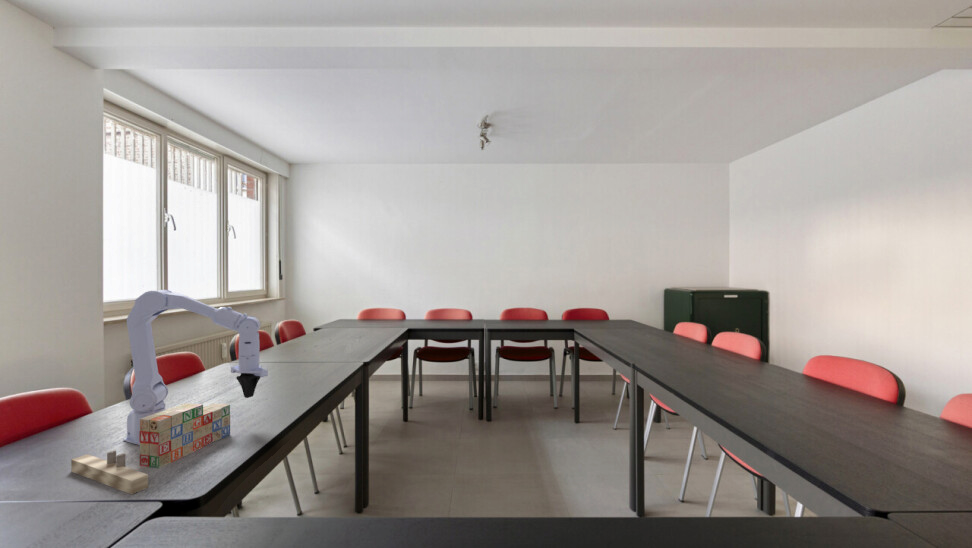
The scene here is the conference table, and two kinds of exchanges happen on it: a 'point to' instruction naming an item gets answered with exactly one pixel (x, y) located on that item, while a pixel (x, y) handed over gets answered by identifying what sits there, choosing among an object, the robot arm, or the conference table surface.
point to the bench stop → (110, 472)
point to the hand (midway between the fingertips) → (248, 396)
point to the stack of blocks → (181, 432)
